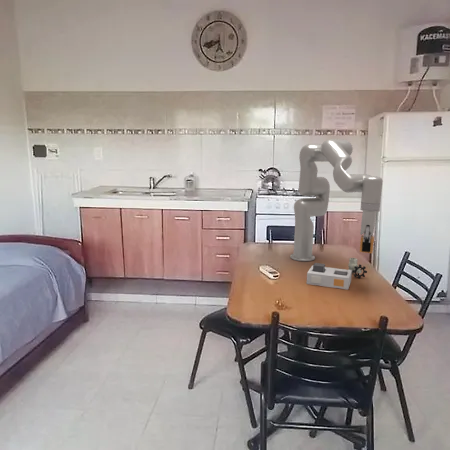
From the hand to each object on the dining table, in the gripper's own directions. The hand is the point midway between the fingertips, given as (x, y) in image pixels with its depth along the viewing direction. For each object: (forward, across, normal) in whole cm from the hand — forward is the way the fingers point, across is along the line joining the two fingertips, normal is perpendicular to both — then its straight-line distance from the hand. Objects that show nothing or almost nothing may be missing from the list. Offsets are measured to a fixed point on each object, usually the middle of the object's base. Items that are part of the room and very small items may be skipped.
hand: (366, 249), depth 180 cm
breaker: (+14, -1, -19) cm, 24 cm away
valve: (+17, -18, -5) cm, 25 cm away
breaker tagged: (+16, -1, -10) cm, 19 cm away
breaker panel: (+17, -1, -14) cm, 22 cm away
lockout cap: (+1, 0, 0) cm, 1 cm away
